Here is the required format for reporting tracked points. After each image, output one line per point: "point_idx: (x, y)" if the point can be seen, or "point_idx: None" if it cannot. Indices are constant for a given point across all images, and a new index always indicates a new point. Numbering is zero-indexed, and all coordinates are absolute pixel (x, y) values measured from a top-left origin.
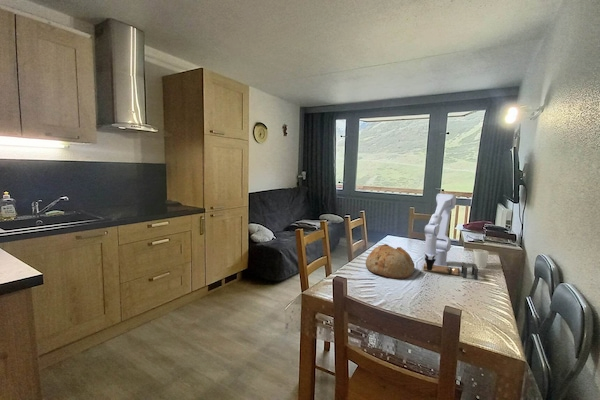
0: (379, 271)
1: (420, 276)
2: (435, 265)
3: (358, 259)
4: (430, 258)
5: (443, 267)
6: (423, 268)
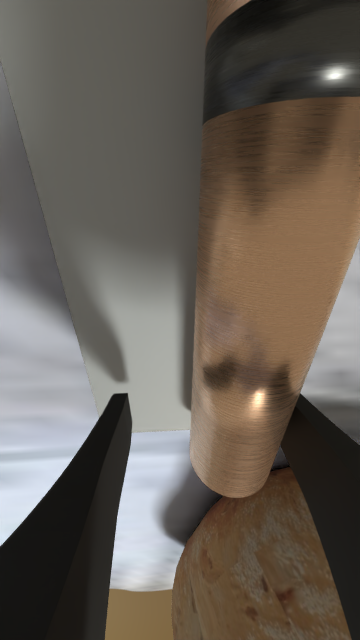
0: None
1: (350, 416)
2: (277, 403)
3: (167, 585)
4: None
5: (344, 271)
6: (169, 420)
